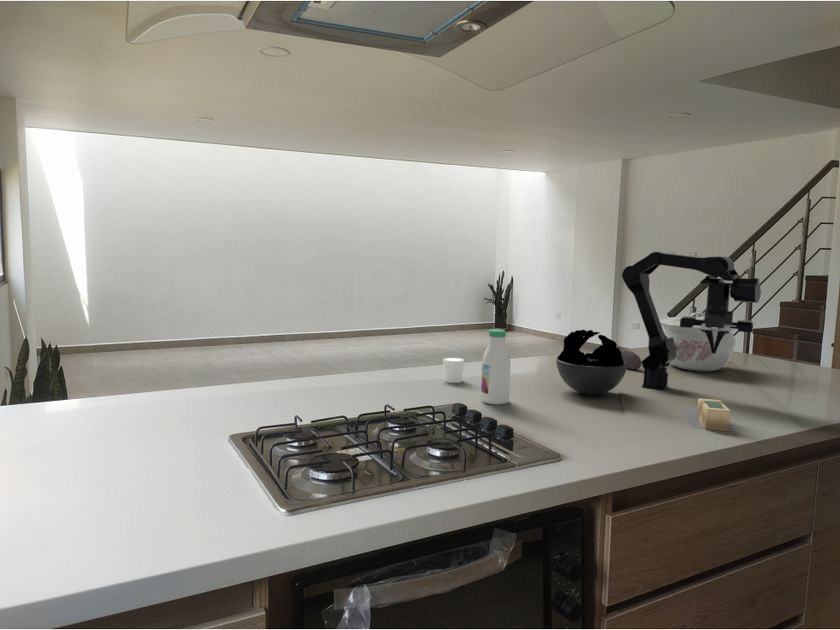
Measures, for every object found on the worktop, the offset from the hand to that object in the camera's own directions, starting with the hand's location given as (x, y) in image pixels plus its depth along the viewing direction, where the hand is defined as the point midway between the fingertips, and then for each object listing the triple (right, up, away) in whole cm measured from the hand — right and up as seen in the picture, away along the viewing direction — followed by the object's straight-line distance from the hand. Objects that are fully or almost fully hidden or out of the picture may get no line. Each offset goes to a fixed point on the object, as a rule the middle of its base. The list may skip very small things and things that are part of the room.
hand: (713, 353), depth 170 cm
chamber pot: (+15, -8, +44) cm, 48 cm away
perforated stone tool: (-11, -8, +42) cm, 44 cm away
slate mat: (-13, -16, -23) cm, 31 cm away
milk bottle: (-65, -13, -9) cm, 67 cm away
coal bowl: (-36, -12, +2) cm, 38 cm away
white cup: (-75, -10, +16) cm, 77 cm away
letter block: (-13, -13, -23) cm, 29 cm away
